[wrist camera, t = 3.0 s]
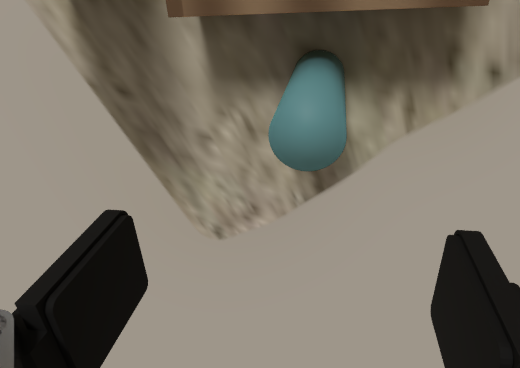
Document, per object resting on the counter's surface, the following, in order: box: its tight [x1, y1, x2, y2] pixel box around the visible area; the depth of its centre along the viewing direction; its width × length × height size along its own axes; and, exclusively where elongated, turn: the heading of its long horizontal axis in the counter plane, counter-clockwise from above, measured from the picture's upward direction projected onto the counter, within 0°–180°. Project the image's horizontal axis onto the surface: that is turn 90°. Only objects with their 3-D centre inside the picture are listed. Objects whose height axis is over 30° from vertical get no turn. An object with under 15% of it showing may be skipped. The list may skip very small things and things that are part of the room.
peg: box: [269, 50, 346, 171], centre depth 24 cm, size 4×4×12 cm
